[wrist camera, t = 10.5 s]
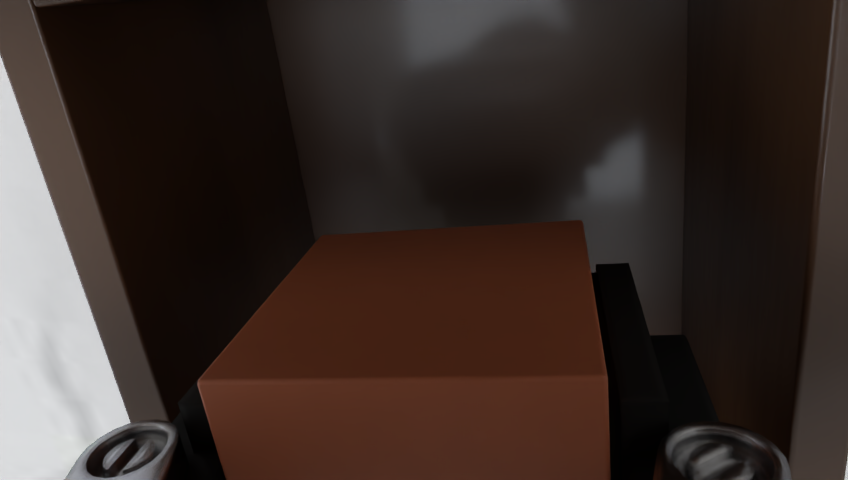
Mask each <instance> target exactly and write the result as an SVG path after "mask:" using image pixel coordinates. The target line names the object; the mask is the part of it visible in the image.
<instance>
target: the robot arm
mask: <svg viewBox="0 0 848 480" xmlns="http://www.w3.org/2000/svg"><path fill="white" fill-rule="evenodd" d="M591 275H592V282H593V288H594V294H595V301H596V307H597V313H598V319H599V326H600V332H601V338H602V345H603V351H604V357H605V364H606V370H607V376H608V399H609V434H610V470H611V480H791V472H790V468H789V465H788V462H787V460H786V457H785V456H784V455H783V454H782V452H781V451H780V450H779V449H778V448H777V447H776V445H775V444H773V443H772V442H770V441H769V440H767V439H766V438H764V437H763V436H762V435H760V434H758V433H756V432H753V431H751V430H749V429H746V428H744V427H741V426H737V425H733V424H729V423H724V422H720V421H719V419H718V416H717V414H716V411H715V409H714V406H713V404H712V401H711V398H710V396H709V393H708V391H707V388H706V386H705V383H704V381H703V378H702V375H701V373H700V370H699V368H698V365H697V363H696V360H695V358H694V355H693V353H692V350H691V347H690V345H689V342H688V340H687V338H686V336H685V335H650V334H649V331H648V327H647V324H646V320H645V317H644V313H643V310H642V307H641V303H640V300H639V296H638V293H637V290H636V286H635V283H634V279H633V276H632V272H631V269H630V266H629V263H613V264H596V272H594V273H591ZM282 281H283V280H282ZM279 285H280V284H279ZM279 285H278V286H279ZM278 286H277V287H278ZM277 287H276V288H277ZM273 292H274V291H273ZM273 292H272V293H273ZM272 293H271V294H272ZM271 294H270V295H271ZM267 299H268V298H267ZM267 299H266V300H267ZM266 300H265V301H266ZM265 301H264V302H265ZM261 306H262V305H261ZM261 306H260V307H261ZM260 307H259V308H260ZM259 308H258V309H259ZM255 313H256V312H255ZM255 313H254V314H255ZM254 314H253V315H254ZM253 315H252V316H253ZM250 319H251V318H250ZM250 319H249V320H250ZM249 320H248V321H249ZM248 321H247V322H248ZM247 322H246V323H247ZM244 326H245V325H244ZM244 326H243V327H244ZM243 327H242V328H243ZM242 328H241V329H242ZM238 333H239V332H238ZM238 333H237V334H238ZM237 334H236V335H237ZM236 335H235V336H236ZM232 340H233V339H232ZM232 340H231V341H232ZM231 341H230V342H231ZM230 342H229V343H230ZM226 347H227V346H226ZM226 347H225V348H226ZM225 348H224V349H225ZM224 349H223V350H224ZM221 353H222V352H221ZM221 353H220V354H221ZM220 354H219V355H220ZM219 355H218V356H219ZM218 356H217V357H218ZM215 360H216V359H215ZM215 360H214V361H215ZM214 361H213V362H214ZM213 362H212V363H213ZM212 363H211V364H212ZM209 367H210V366H209ZM209 367H208V368H209ZM208 368H207V369H208ZM207 369H206V370H207ZM206 370H205V371H206ZM203 374H204V373H203ZM203 374H202V375H203ZM202 375H201V376H202ZM201 376H200V377H201ZM197 384H198V380H197V381H196V382H195V383H194V385H193V386H192V387H191V388H190V389H189V390H188V392H187V393H186V394H185V395H184V396H183V397H182V399H181V400H180V401H179V402H178V406H179V409H180V413H179V414H178V416H177V417H176V418H175V419H174V420H173V422H172V423H170V422H169V421H164V420H159V419H154V420H142V421H138V422H134V423H130V424H127V425H124V426H122V427H119V428H117V429H114V430H112V431H111V432H109V433H107V434H105V435H104V436H102V437H100V438H99V439H97V440H96V441H95V442H94V443H92V444H91V445H90V446H88V447H87V448H86V449H85V451H84V452H83V453H82V454H81V455H80V457H79V458H78V459H77V461H76V462H75V464H74V466H73V467H72V469H71V470H70V472H69V473H68V475H67V477H66V478H65V480H226V479H225V475H224V472H223V469H222V465H221V462H220V459H219V455H218V452H217V449H216V445H215V442H214V439H213V435H212V432H211V429H210V425H209V422H208V419H207V415H206V412H205V409H204V405H203V402H202V399H201V395H200V392H199V389H198V385H197Z"/></svg>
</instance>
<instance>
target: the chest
mask: <svg viewBox="0 0 848 480" xmlns="http://www.w3.org/2000/svg"><path fill="white" fill-rule="evenodd" d="M0 55H1V58H2V61H3V63H4V66H5V69H6V72H7V75H8V78H9V80H10V83H11V86H12V89H13V92H14V95H15V97H16V100H17V103H18V106H19V109H20V111H21V114H22V117H23V120H24V123H25V126H26V128H27V131H28V134H29V137H30V140H31V143H32V145H33V148H34V151H35V154H36V157H37V159H38V162H39V165H40V168H41V171H42V174H43V176H44V179H45V182H46V185H47V188H48V191H49V193H50V196H51V199H52V202H53V205H54V207H55V210H56V213H57V216H58V219H59V222H60V224H61V227H62V230H63V233H64V236H65V239H66V241H67V244H68V247H69V250H70V253H71V255H72V258H73V261H74V264H75V267H76V270H77V272H78V275H79V278H80V281H81V284H82V287H83V289H84V292H85V295H86V298H87V301H88V303H89V306H90V309H91V312H92V315H93V318H94V320H95V323H96V326H97V329H98V332H99V335H100V337H101V340H102V343H103V346H104V349H105V351H106V354H107V357H108V360H109V363H110V366H111V368H112V371H113V374H114V377H115V380H116V383H117V385H118V388H119V391H120V394H121V397H122V399H123V402H124V405H125V408H126V411H127V414H128V416H129V419H130V422H131V423H134V422H138V421H142V420H154V419H159V420H164V421H169V422H170V423H172V422H173V420H174V419H175V418H176V417H177V416H178V414H179V413H180V409H179V406H178V402H179V401H180V400H181V399H182V397H183V396H184V395H185V394H186V393H187V392H188V390H189V389H190V388H191V387H192V386H193V385H194V383H195V382H196V381H197V380H198V379H199V378H200V376H201V375H202V374H203V373H204V372H205V370H206V369H207V368H208V367H209V366H210V365H211V363H212V362H213V361H214V360H215V359H216V358H217V356H218V355H219V354H220V353H221V352H222V351H223V349H224V348H225V347H226V346H227V345H228V344H229V342H230V341H231V340H232V339H233V338H234V337H235V335H236V334H237V333H238V332H239V331H240V330H241V328H242V327H243V326H244V325H245V324H246V322H247V321H248V320H249V319H250V318H251V317H252V315H253V314H254V313H255V312H256V311H257V310H258V308H259V307H260V306H261V305H262V304H263V303H264V301H265V300H266V299H267V298H268V297H269V296H270V294H271V293H272V292H273V291H274V290H275V289H276V287H277V286H278V285H279V284H280V283H281V282H282V280H284V279H285V277H286V276H287V275H288V274H289V273H290V272H291V270H292V269H293V268H294V267H295V266H296V265H297V263H298V262H299V261H300V260H301V259H302V258H303V256H304V255H305V254H306V253H307V252H308V251H309V249H310V248H311V247H312V246H313V245H314V244H315V242H316V241H317V240H318V239H319V238H320V236H322V235H335V234H352V233H369V232H385V231H402V230H419V229H436V228H453V227H470V226H487V225H504V224H520V223H537V222H554V221H571V220H581V221H582V222H583V225H584V231H585V238H586V244H587V250H588V256H589V263H590V269H591V273H594V272H596V264H613V263H629V266H630V269H631V272H632V276H633V279H634V283H635V286H636V290H637V293H638V296H639V300H640V303H641V307H642V310H643V313H644V317H645V320H646V324H647V327H648V331H649V334H650V335H685V336H686V338H687V340H688V342H689V345H690V347H691V350H692V353H693V355H694V358H695V360H696V363H697V365H698V368H699V370H700V373H701V375H702V378H703V381H704V383H705V386H706V388H707V391H708V393H709V396H710V398H711V401H712V404H713V406H714V409H715V411H716V414H717V416H718V419H719V421H720V422H724V423H729V424H733V425H737V426H741V427H744V428H746V429H749V430H751V431H753V432H756V433H758V434H760V435H762V436H763V437H764V438H766V439H767V440H769V441H770V442H772V443H773V444H775V445H776V447H777V448H778V449H779V450H780V451H781V452H782V454H783V455H784V456H785V457H786V460H787V462H788V465H789V468H790V472H791V480H844V478H845V470H846V463H847V456H848V0H0Z"/></svg>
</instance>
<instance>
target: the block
mask: <svg viewBox="0 0 848 480" xmlns="http://www.w3.org/2000/svg"><path fill="white" fill-rule="evenodd" d="M197 385H198V389H199V392H200V395H201V399H202V402H203V405H204V409H205V412H206V415H207V419H208V422H209V425H210V429H211V432H212V435H213V439H214V442H215V445H216V449H217V452H218V455H219V459H220V462H221V465H222V469H223V472H224V475H225V479H226V480H611V470H610V434H609V399H608V376H607V370H606V364H605V357H604V351H603V345H602V338H601V332H600V326H599V319H598V313H597V307H596V301H595V294H594V288H593V282H592V275H591V269H590V263H589V256H588V250H587V244H586V238H585V231H584V225H583V222H582V221H581V220H571V221H554V222H537V223H520V224H504V225H487V226H470V227H453V228H436V229H419V230H402V231H385V232H369V233H352V234H335V235H322V236H320V238H319V239H318V240H317V241H316V242H315V244H314V245H313V246H312V247H311V248H310V249H309V251H308V252H307V253H306V254H305V255H304V256H303V258H302V259H301V260H300V261H299V262H298V263H297V265H296V266H295V267H294V268H293V269H292V270H291V272H290V273H289V274H288V275H287V276H286V277H285V279H284V280H283V281H282V282H281V283H280V285H279V286H278V287H277V288H276V289H275V290H274V292H273V293H272V294H271V295H270V296H269V297H268V299H267V300H266V301H265V302H264V303H263V304H262V306H261V307H260V308H259V309H258V310H257V311H256V313H255V314H254V315H253V316H252V317H251V319H250V320H249V321H248V322H247V323H246V324H245V326H244V327H243V328H242V329H241V330H240V331H239V333H238V334H237V335H236V336H235V337H234V338H233V340H232V341H231V342H230V343H229V344H228V345H227V347H226V348H225V349H224V350H223V351H222V353H221V354H220V355H219V356H218V357H217V358H216V360H215V361H214V362H213V363H212V364H211V365H210V367H209V368H208V369H207V370H206V371H205V372H204V374H203V375H202V376H201V377H200V378H199V379H198V384H197Z"/></svg>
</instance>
